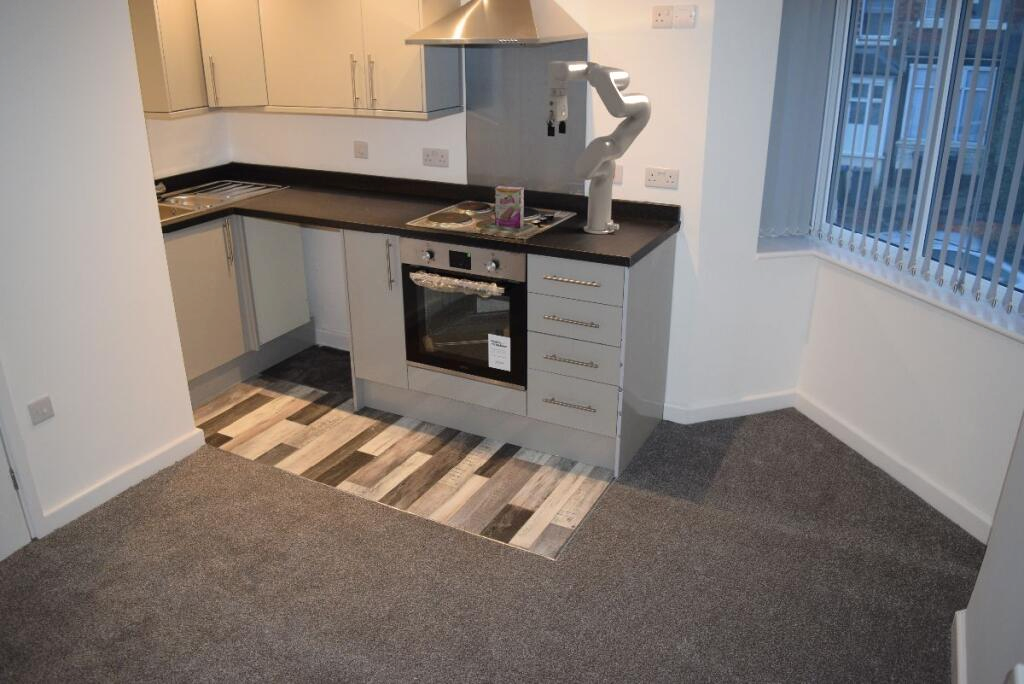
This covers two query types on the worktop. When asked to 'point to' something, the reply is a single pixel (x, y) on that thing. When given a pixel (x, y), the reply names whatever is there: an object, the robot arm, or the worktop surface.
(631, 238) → the worktop surface
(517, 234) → the foundation plinth
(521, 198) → the candy bar box
